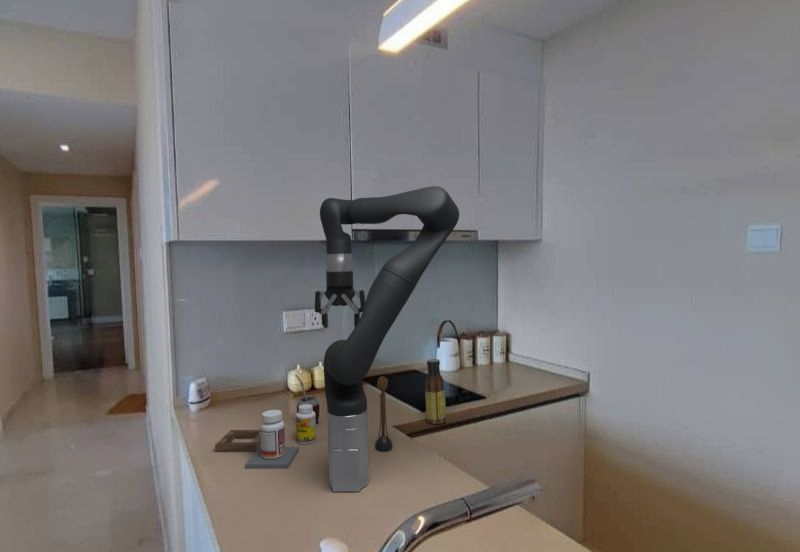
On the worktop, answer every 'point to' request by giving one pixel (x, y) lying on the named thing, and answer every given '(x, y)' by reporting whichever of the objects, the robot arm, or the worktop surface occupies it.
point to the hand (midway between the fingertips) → (340, 327)
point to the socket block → (230, 446)
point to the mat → (281, 462)
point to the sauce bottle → (435, 393)
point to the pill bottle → (272, 435)
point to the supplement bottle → (305, 424)
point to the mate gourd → (309, 402)
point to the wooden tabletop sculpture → (383, 420)
